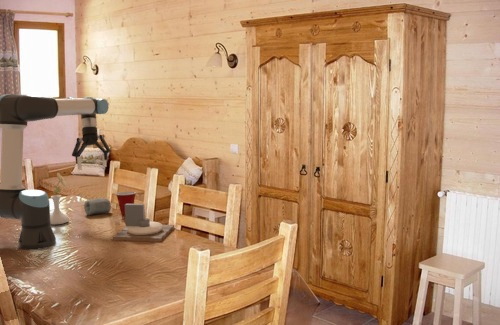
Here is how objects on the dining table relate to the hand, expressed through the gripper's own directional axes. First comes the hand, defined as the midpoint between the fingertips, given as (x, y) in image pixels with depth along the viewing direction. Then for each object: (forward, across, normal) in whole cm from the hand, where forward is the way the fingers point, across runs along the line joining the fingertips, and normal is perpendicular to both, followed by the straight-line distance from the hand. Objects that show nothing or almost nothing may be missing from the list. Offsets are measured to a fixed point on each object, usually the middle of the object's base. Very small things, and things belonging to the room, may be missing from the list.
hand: (92, 168), depth 279 cm
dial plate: (+36, -32, +19) cm, 52 cm away
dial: (+34, -32, +19) cm, 51 cm away
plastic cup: (+25, -11, -13) cm, 30 cm away
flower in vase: (+26, +16, +7) cm, 32 cm away
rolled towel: (+23, +5, -13) cm, 27 cm away
